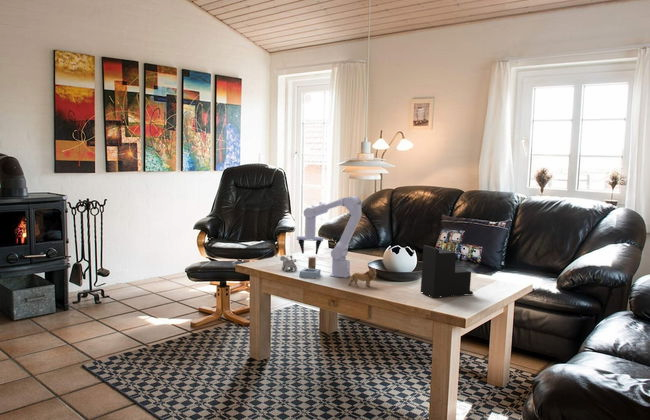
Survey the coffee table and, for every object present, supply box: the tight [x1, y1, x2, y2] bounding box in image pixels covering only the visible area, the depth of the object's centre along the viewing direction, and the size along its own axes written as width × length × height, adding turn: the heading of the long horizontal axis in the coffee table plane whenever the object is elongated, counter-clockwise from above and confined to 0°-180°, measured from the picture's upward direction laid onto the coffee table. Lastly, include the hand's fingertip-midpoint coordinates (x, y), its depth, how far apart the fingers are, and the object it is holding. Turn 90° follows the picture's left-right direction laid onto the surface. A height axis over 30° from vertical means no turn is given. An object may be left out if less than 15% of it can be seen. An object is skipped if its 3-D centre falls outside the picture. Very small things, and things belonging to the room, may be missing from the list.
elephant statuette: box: [279, 254, 298, 272], centre depth 298 cm, size 9×12×8 cm
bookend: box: [420, 244, 474, 298], centre depth 254 cm, size 23×11×24 cm, turn 113°
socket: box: [299, 267, 321, 279], centre depth 284 cm, size 9×9×3 cm
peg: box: [307, 256, 317, 269], centre depth 294 cm, size 4×4×8 cm
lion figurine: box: [347, 267, 377, 288], centre depth 264 cm, size 15×5×9 cm, turn 105°
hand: (309, 253), depth 293 cm, fingers open, 7 cm apart
